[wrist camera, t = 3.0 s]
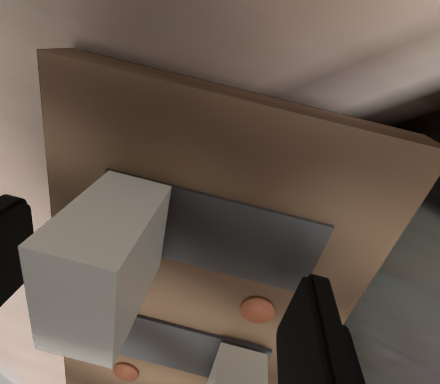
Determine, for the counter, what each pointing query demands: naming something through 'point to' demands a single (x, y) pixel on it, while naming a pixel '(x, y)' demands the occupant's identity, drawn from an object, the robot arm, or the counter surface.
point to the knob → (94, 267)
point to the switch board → (228, 202)
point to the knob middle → (238, 366)
